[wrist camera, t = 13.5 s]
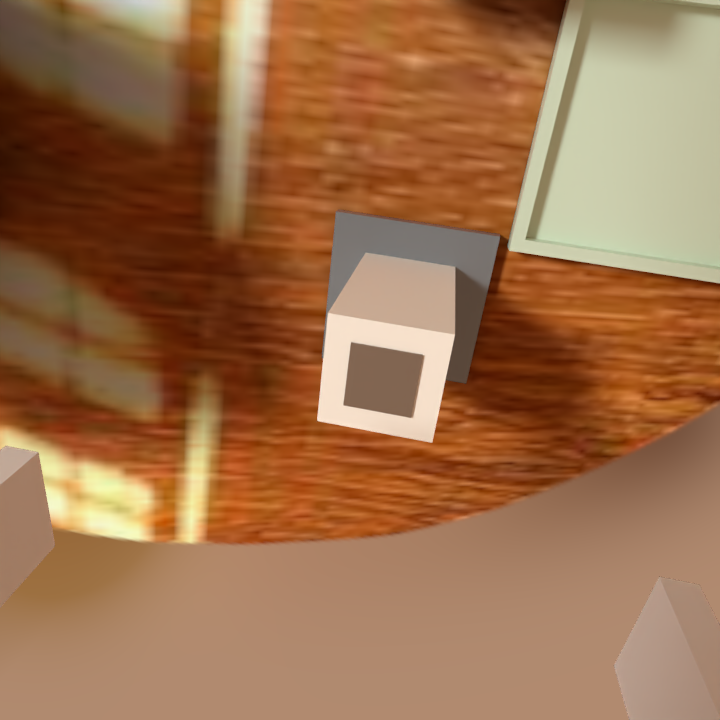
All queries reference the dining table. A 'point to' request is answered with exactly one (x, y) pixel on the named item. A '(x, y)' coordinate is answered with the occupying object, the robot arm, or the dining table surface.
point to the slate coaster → (424, 244)
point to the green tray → (628, 141)
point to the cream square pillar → (389, 347)
